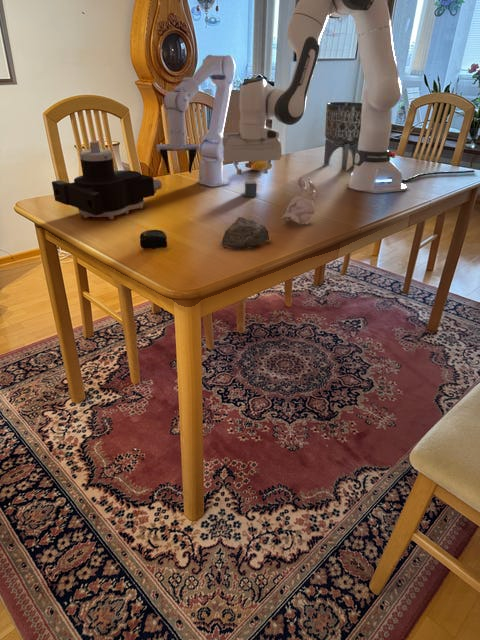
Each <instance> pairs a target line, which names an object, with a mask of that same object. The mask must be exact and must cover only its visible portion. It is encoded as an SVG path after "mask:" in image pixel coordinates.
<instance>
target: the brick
mask: <svg viewBox="0 0 480 640" xmlns="http://www.w3.org/2000/svg"><path fill="white" fill-rule="evenodd" d="M257 186H258V185H257V182H256V180H243V195H244V197H245V198H257V191H258V190H257V188H258V187H257Z"/></svg>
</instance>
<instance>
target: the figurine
mask: <svg viewBox="0 0 480 640" xmlns="http://www.w3.org/2000/svg"><path fill="white" fill-rule="evenodd" d="M296 184H297V186H298V188H299V189H300V196H296V197H294V198H292V199H291V200H290V202H289V204H288V205H287V207H286V212H285V213H284V214H283V215H282V217H281V220H282V221H284V220H285V221H286V222H292V223H295V224H296V223H297V224H298V225H309V220H310V217H311V215H312V216H313V215H314V214H315V210H316V207H315V203H314V201H315V200H316V191H315V189H316V186H315V183H314V182H313V181H311V179H308V184H309V187H306V180H304V179H303V178H302V177H299V178H298V179H297V183H296Z"/></svg>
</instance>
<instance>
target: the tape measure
mask: <svg viewBox="0 0 480 640" xmlns="http://www.w3.org/2000/svg"><path fill="white" fill-rule="evenodd" d="M167 236H168V235H167V234H166V232H165V231H164V230H161V229H147V230H144V231H143V232H141V233H140V235H139V240H140V241H139V245H140V246H139V247H141V248H142V249H146V250H157V249H167V248H168V240H167V239H168V237H167Z"/></svg>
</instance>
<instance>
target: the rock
mask: <svg viewBox="0 0 480 640" xmlns="http://www.w3.org/2000/svg"><path fill="white" fill-rule="evenodd" d="M269 241H270V233H269V230H268V229H267V228H266V226H265V225H263V224H261V223H259V222H256V221H255V220H252V219H247V218H245V217H241V216H238V217H237V218H236V219H235V221H234V222H233V223H232V224H231V225H229V226H228V227H227V228H226V229H225V231H224V233H223V236H222V239H221V244H222V247H224V248H229V249H231V250H245V249H254V248H257V247H259V246H260V245H264V244H266V242H269Z"/></svg>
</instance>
